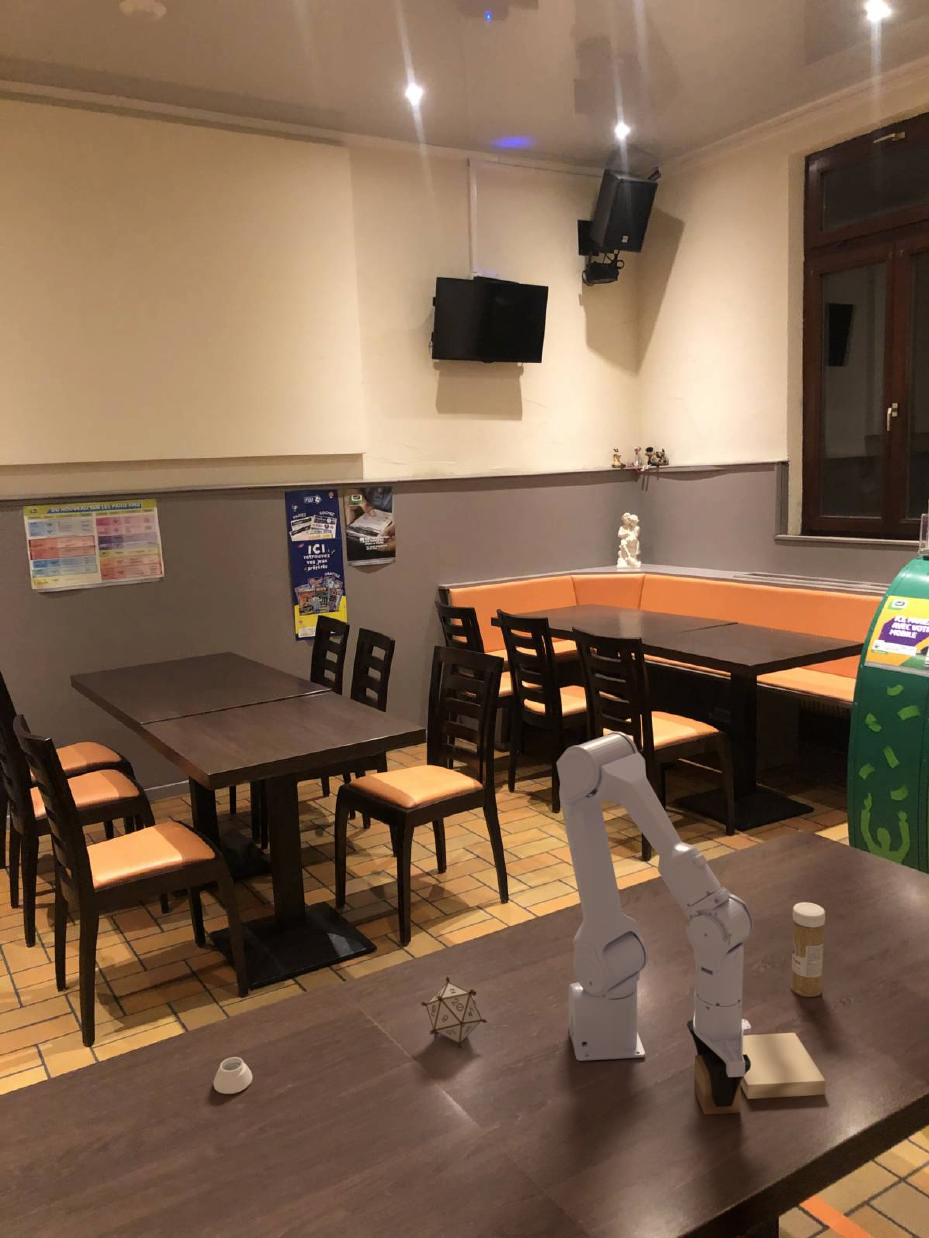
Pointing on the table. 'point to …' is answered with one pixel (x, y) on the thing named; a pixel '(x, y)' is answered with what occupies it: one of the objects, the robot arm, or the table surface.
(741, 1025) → the robot arm
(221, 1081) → the lidless jar
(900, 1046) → the table surface
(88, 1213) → the table surface
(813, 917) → the sprinkles bottle
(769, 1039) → the birch base
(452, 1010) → the game die
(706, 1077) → the walnut block
